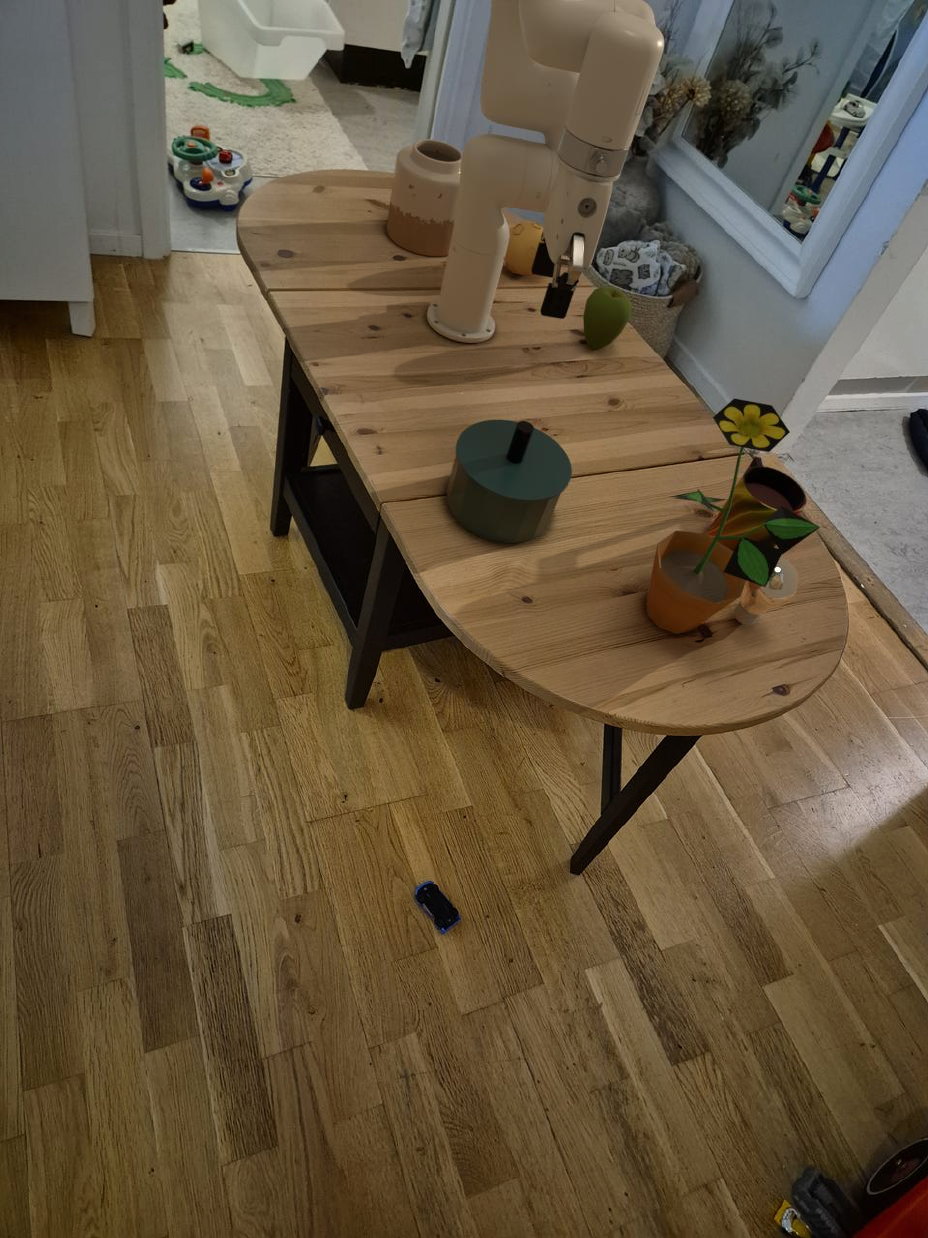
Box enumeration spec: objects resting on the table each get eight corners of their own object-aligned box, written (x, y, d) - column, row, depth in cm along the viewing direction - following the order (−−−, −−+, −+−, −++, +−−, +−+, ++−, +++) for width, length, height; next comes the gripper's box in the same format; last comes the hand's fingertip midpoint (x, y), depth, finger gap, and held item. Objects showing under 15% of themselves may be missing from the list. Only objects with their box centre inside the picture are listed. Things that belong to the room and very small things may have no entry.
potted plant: (595, 560, 114) (683, 385, 92) (713, 571, 118) (826, 406, 96) (618, 661, 103) (725, 491, 81) (748, 670, 107) (885, 511, 85)
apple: (622, 359, 150) (646, 304, 141) (582, 359, 147) (604, 302, 138) (604, 332, 155) (626, 277, 146) (566, 331, 152) (586, 274, 143)
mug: (729, 502, 130) (766, 444, 121) (776, 565, 122) (819, 509, 113) (681, 508, 126) (715, 449, 117) (727, 573, 119) (767, 516, 110)
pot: (444, 462, 120) (455, 417, 114) (542, 475, 124) (559, 432, 117) (449, 537, 111) (462, 492, 104) (555, 548, 114) (574, 506, 108)
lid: (451, 418, 115) (461, 379, 110) (561, 433, 118) (575, 396, 113) (458, 498, 104) (468, 459, 99) (577, 512, 108) (594, 475, 103)
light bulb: (711, 599, 115) (752, 542, 105) (755, 603, 116) (798, 547, 107) (725, 638, 110) (769, 582, 101) (770, 641, 112) (817, 586, 103)
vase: (467, 233, 168) (485, 149, 155) (450, 265, 158) (468, 178, 145) (398, 210, 168) (411, 124, 155) (376, 241, 158) (388, 151, 145)
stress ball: (488, 261, 162) (500, 212, 155) (525, 256, 167) (539, 208, 160) (515, 288, 158) (529, 238, 151) (553, 282, 163) (568, 234, 155)
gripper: (639, 194, 84) (585, 338, 97) (610, 127, 94) (565, 265, 107) (571, 180, 82) (526, 328, 95) (550, 114, 93) (512, 255, 106)
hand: (547, 294), depth 101 cm, fingers open, 9 cm apart
